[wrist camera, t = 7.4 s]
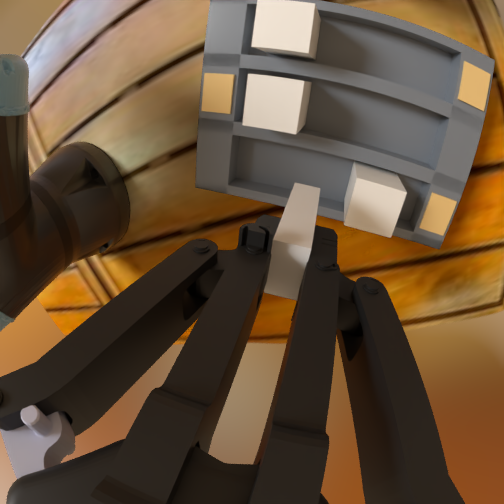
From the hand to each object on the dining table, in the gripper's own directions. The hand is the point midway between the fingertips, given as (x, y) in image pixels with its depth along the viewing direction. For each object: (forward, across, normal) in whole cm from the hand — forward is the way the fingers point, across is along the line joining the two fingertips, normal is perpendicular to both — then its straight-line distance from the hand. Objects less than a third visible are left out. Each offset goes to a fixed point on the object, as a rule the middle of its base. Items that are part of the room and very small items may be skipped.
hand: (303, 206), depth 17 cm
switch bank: (+10, +2, +5) cm, 11 cm away
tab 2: (+8, -3, +5) cm, 10 cm away
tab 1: (+8, -3, +11) cm, 14 cm away
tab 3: (+8, +5, 0) cm, 9 cm away
